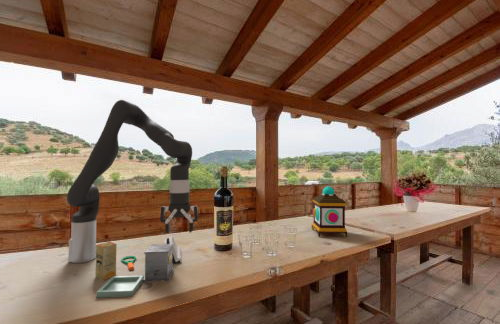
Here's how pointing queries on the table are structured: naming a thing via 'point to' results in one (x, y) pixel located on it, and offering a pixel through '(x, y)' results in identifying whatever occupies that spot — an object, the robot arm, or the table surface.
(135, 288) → the tray
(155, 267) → the box
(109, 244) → the shoe polish box
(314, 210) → the decorative lantern
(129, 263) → the magnifying glass
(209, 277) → the table surface
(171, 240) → the white piece
